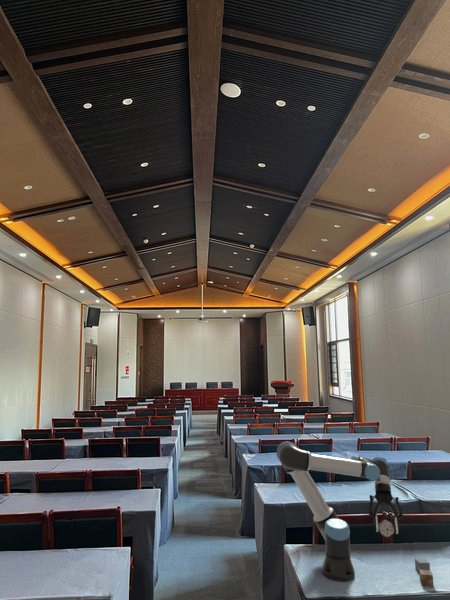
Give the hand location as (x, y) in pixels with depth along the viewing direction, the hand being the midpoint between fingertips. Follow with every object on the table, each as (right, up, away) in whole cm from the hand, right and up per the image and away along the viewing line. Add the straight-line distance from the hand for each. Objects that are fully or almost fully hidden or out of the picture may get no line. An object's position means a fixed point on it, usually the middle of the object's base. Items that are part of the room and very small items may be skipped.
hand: (387, 531), depth 208 cm
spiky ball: (+1, -4, +3) cm, 5 cm away
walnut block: (+17, -23, -3) cm, 28 cm away
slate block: (+21, -24, +9) cm, 33 cm away
